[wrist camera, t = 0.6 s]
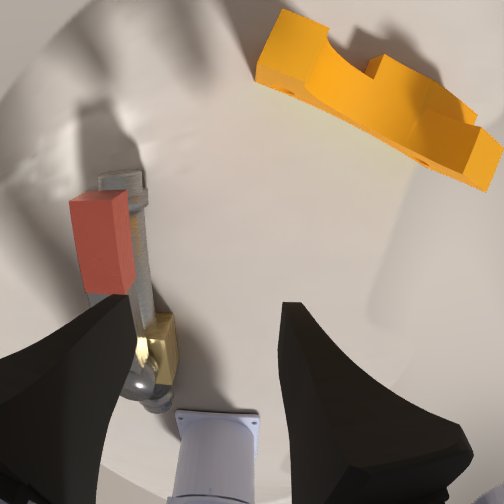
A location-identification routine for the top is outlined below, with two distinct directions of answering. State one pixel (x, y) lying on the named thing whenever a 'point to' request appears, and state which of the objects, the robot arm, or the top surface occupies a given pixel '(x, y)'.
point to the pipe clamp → (379, 101)
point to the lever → (112, 271)
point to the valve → (147, 290)
